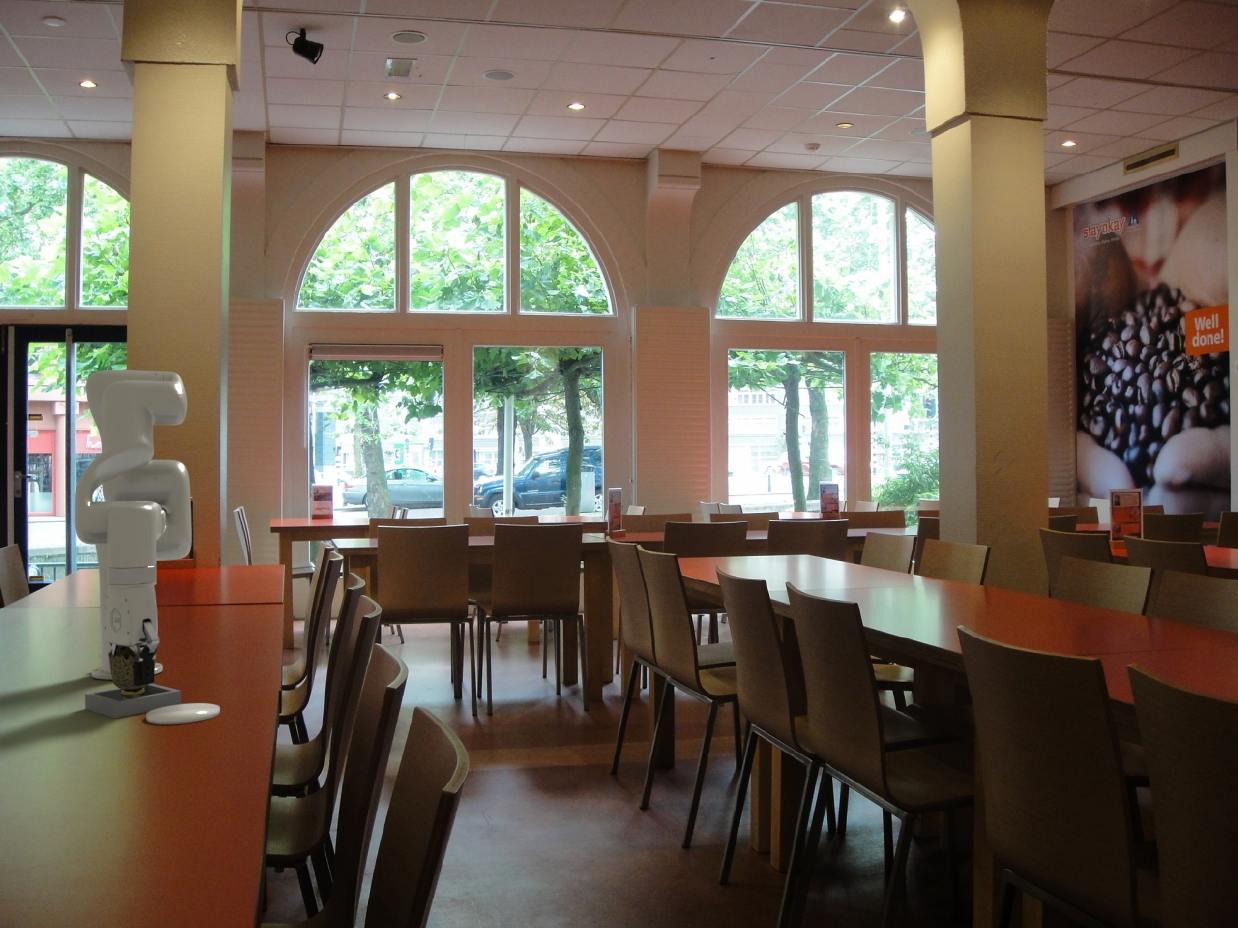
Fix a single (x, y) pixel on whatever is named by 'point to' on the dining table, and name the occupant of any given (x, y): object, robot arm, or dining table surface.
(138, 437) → the robot arm
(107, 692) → the pocket frame
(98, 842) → the dining table surface
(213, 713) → the coaster
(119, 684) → the ornate bronze lamp shade
